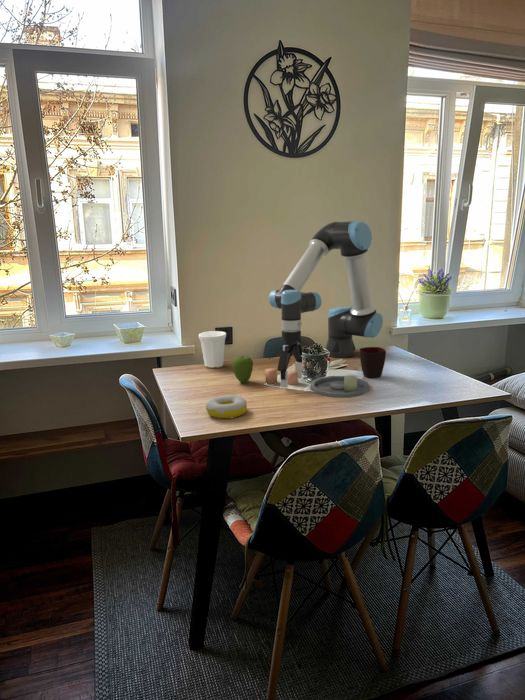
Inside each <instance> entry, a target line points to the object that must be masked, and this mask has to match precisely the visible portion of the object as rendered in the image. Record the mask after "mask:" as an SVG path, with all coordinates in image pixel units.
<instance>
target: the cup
mask: <svg viewBox="0 0 525 700" xmlns="http://www.w3.org/2000/svg"><path fill="white" fill-rule="evenodd" d="M226 337H227V333H226V332H225V331H222V330H221V331H220V330H212V331H211V330H209V331H203V332H200V333H199V334H198V339H199V341H200V345H201V352H202V356H203V357H202V358H203V363H204V367H205V366H208V367H221V366H223V367H224V359H225V342H226ZM221 368H222V367H221Z"/></svg>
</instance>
